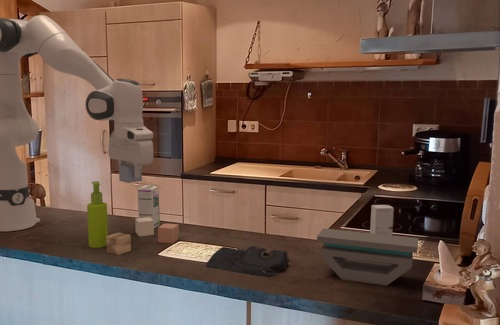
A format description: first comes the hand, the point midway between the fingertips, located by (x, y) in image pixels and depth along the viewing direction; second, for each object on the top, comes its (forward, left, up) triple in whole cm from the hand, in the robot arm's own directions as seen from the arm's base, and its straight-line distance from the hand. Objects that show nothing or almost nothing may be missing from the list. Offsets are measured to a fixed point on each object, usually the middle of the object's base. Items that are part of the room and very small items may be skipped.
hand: (130, 175), depth 156 cm
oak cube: (+5, -8, -22) cm, 24 cm away
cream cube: (-5, +8, -22) cm, 24 cm away
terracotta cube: (+7, +9, -22) cm, 25 cm away
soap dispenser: (-5, -9, -22) cm, 24 cm away
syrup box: (-11, +14, -22) cm, 28 cm away
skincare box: (+57, +56, -22) cm, 83 cm away
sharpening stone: (+69, +27, -22) cm, 77 cm away
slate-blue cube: (0, 0, -2) cm, 2 cm away
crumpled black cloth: (+40, +12, -22) cm, 47 cm away
